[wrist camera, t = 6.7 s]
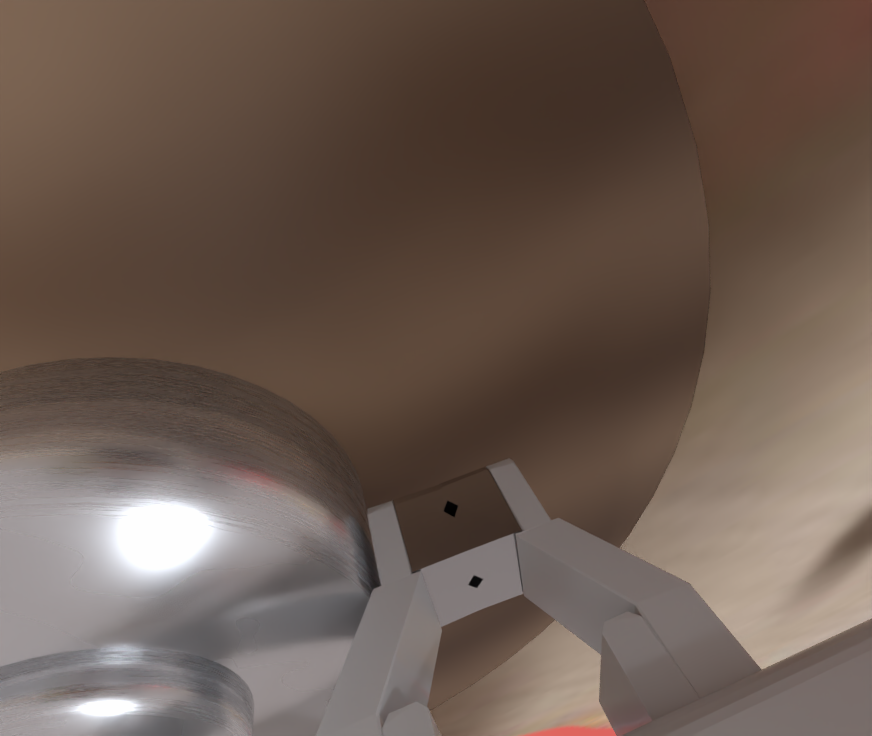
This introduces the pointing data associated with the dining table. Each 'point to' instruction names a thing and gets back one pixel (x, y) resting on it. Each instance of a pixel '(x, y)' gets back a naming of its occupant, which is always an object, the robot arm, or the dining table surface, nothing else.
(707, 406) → the dining table surface
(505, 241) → the lazy susan
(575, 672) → the dining table surface
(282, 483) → the aluminium cover
